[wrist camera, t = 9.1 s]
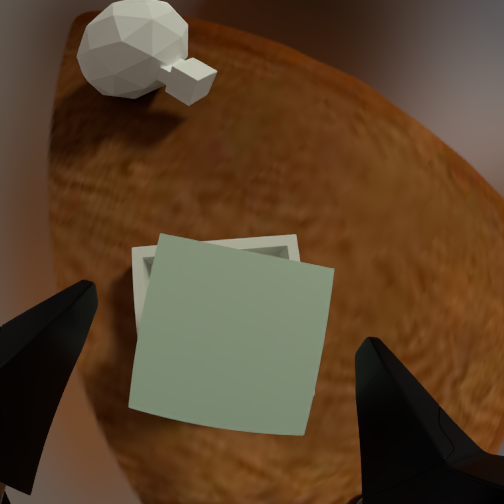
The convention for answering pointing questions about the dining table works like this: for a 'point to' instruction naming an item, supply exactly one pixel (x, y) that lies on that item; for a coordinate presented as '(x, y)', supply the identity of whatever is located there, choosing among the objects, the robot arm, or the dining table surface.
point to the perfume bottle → (142, 53)
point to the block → (230, 338)
